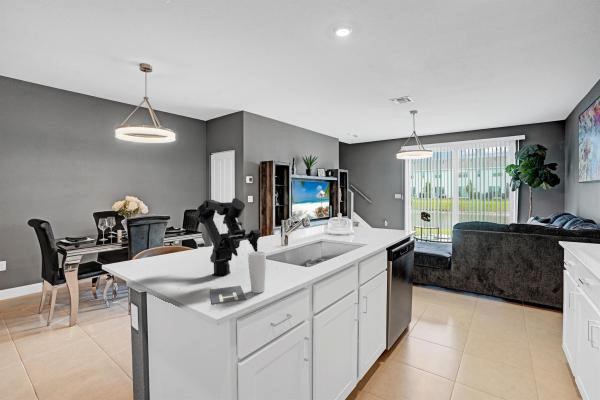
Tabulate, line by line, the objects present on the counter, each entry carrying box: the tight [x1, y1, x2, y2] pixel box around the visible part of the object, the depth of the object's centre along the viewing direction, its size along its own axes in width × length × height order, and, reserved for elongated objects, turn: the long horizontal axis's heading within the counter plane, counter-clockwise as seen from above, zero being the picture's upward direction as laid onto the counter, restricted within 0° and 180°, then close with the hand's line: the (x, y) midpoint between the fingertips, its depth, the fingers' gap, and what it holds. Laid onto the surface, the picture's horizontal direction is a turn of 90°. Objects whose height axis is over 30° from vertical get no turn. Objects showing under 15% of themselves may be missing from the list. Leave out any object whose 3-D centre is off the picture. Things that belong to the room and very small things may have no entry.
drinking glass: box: [247, 251, 267, 294], centre depth 115 cm, size 7×7×15 cm
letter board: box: [209, 285, 247, 305], centre depth 112 cm, size 16×12×1 cm
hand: (247, 253), depth 121 cm, fingers open, 9 cm apart
